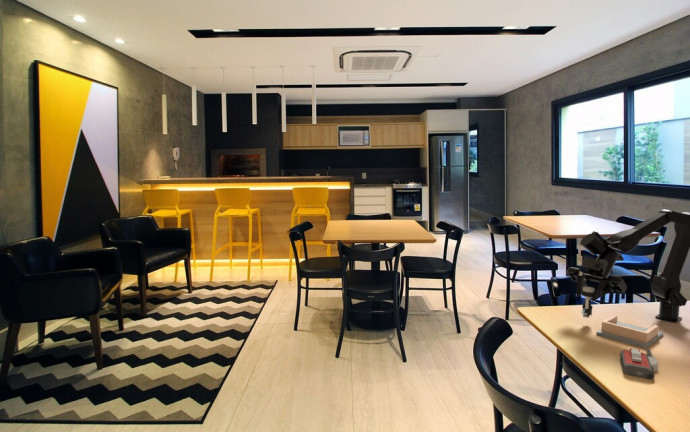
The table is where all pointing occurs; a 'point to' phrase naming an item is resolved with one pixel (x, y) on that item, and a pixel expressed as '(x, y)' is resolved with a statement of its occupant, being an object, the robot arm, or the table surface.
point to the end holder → (629, 332)
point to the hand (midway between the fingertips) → (584, 298)
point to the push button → (587, 300)
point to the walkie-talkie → (638, 363)
